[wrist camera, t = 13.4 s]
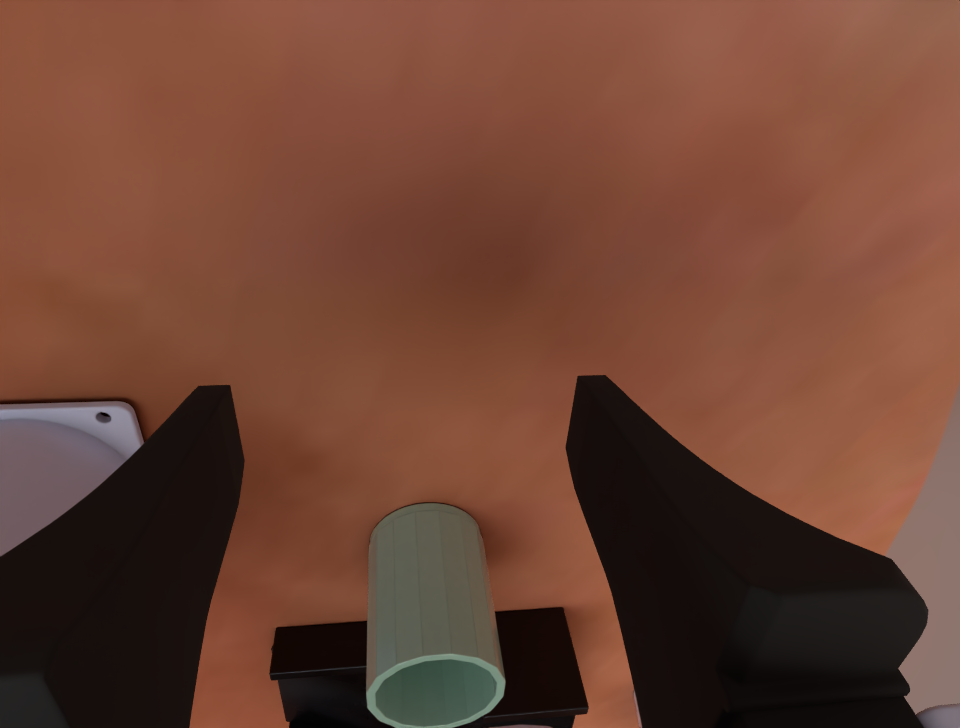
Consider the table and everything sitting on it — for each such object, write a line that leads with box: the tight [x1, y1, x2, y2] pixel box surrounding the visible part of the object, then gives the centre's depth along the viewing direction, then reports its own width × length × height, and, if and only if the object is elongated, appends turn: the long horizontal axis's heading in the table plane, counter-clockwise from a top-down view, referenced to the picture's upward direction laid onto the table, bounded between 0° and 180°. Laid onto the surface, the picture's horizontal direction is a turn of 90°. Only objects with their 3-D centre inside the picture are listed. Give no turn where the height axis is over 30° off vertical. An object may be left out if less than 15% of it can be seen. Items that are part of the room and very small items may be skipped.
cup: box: [366, 503, 506, 728], centre depth 29 cm, size 5×5×8 cm
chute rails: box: [269, 608, 589, 728], centre depth 35 cm, size 15×8×6 cm, turn 87°
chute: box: [271, 644, 575, 728], centre depth 36 cm, size 15×7×5 cm, turn 87°
